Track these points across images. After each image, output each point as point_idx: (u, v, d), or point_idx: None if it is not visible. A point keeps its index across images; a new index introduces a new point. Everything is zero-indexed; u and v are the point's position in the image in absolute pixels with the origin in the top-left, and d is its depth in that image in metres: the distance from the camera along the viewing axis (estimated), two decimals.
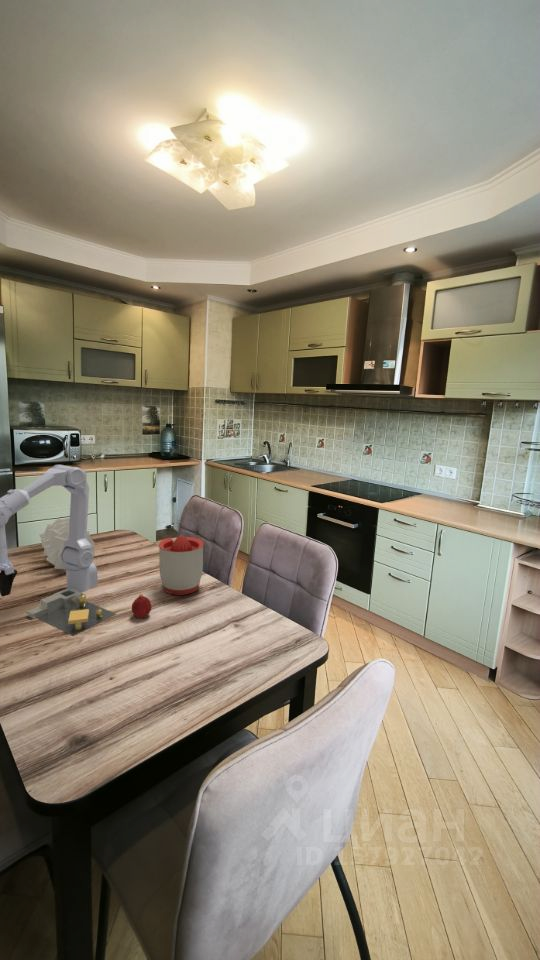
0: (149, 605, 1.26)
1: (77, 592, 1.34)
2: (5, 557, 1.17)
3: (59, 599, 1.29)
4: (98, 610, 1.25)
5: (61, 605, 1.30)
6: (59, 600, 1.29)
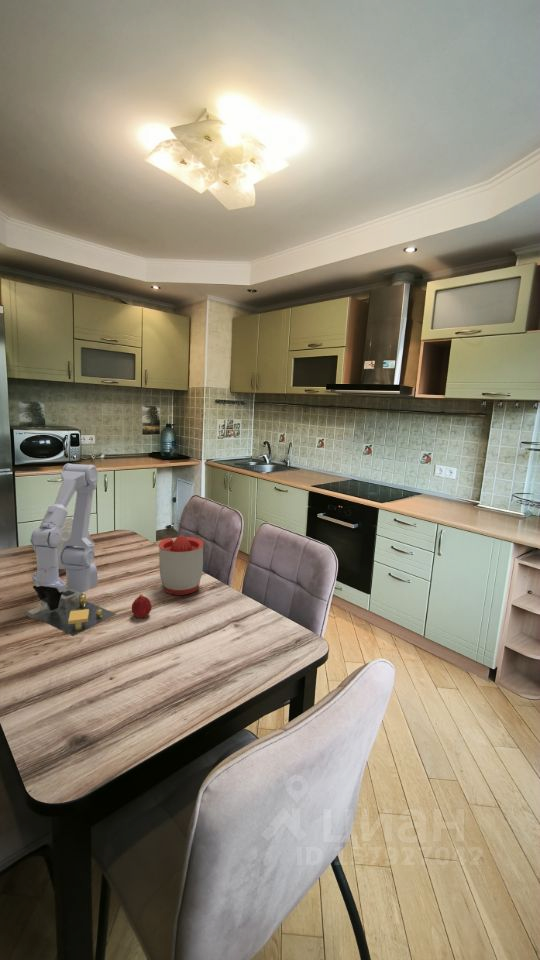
0: (149, 605, 1.26)
1: (77, 592, 1.34)
2: (57, 575, 1.27)
3: None
4: (98, 610, 1.25)
5: (61, 605, 1.30)
6: None
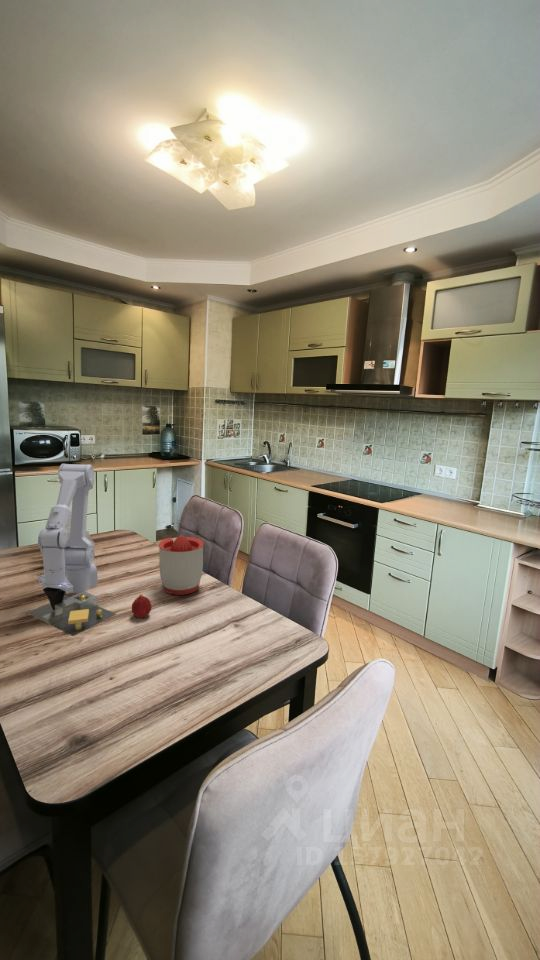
0: (149, 605, 1.26)
1: (91, 596, 1.32)
2: (64, 577, 1.25)
3: (74, 603, 1.26)
4: (98, 610, 1.25)
5: (76, 609, 1.27)
6: (74, 604, 1.27)
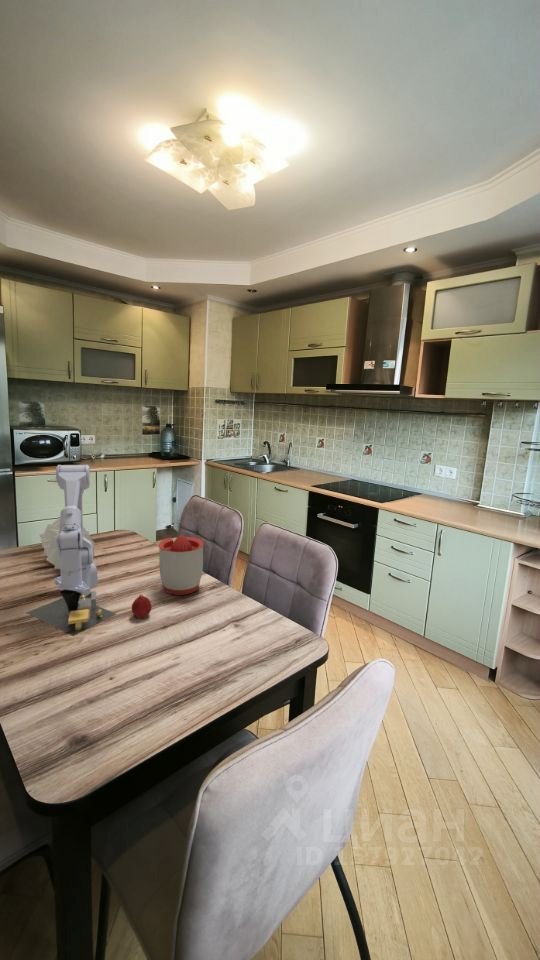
0: (149, 605, 1.26)
1: (92, 592, 1.34)
2: (80, 579, 1.24)
3: (91, 601, 1.29)
4: (98, 610, 1.25)
5: (91, 606, 1.30)
6: (91, 602, 1.29)
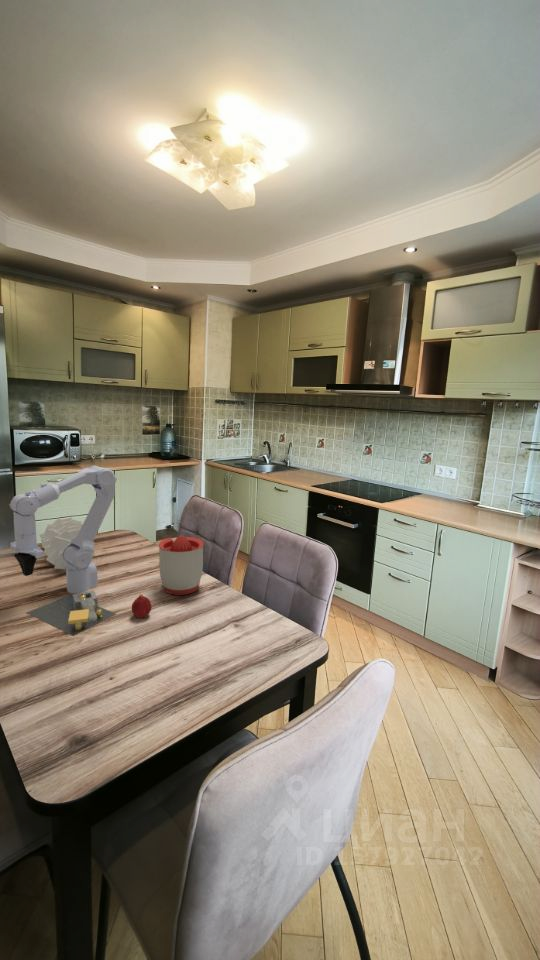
0: (149, 605, 1.26)
1: (90, 592, 1.34)
2: (35, 543, 1.28)
3: (93, 600, 1.29)
4: (98, 610, 1.25)
5: None
6: None
